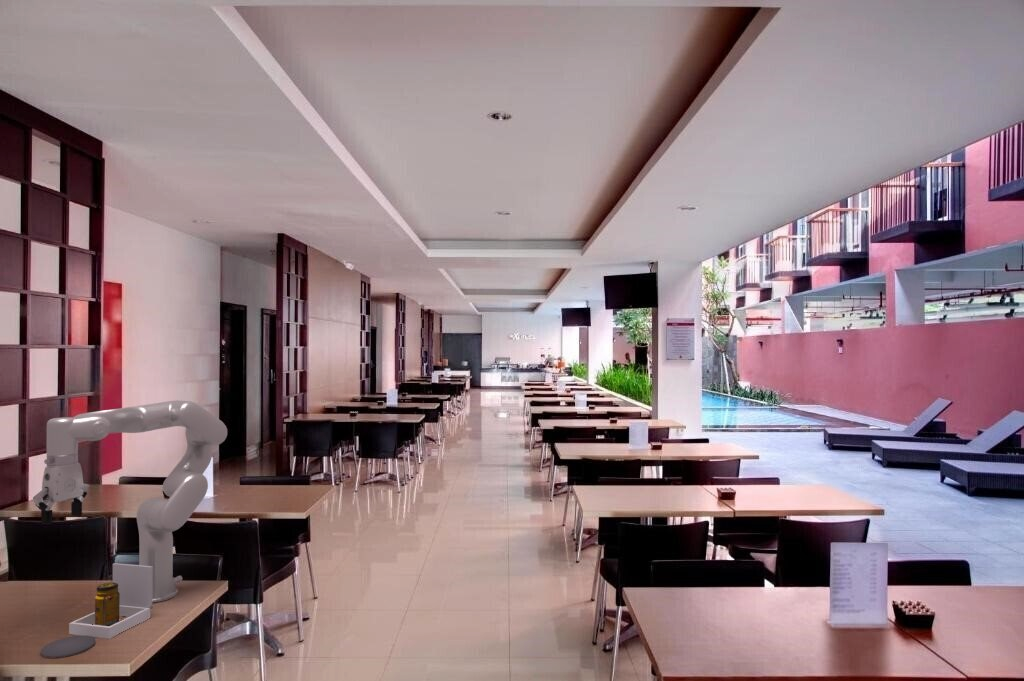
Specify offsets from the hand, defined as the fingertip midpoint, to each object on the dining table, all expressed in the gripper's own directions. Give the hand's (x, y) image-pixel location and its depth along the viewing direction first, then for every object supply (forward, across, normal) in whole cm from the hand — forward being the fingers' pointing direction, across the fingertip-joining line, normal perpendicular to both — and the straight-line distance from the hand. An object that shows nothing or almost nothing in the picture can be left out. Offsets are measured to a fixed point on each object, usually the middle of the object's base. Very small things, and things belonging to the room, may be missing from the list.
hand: (62, 519), depth 192 cm
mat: (+30, -12, -15) cm, 36 cm away
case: (+30, +3, -14) cm, 34 cm away
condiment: (+31, +3, -14) cm, 34 cm away
